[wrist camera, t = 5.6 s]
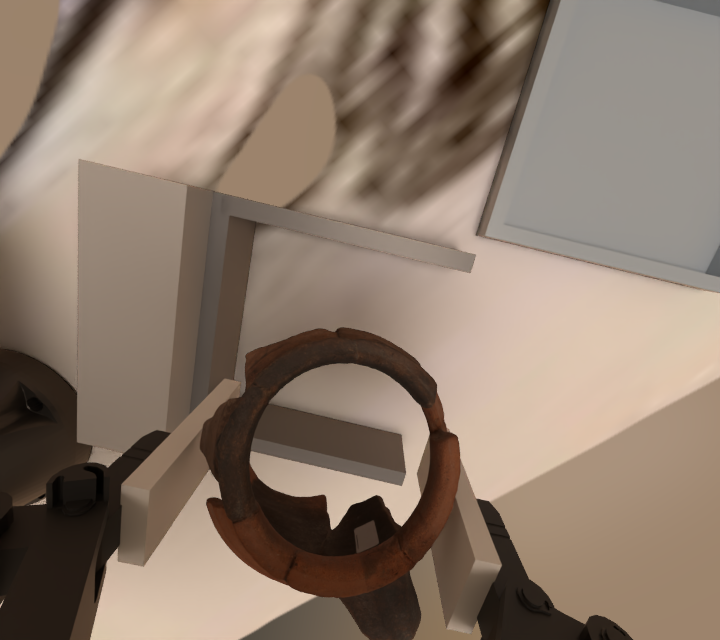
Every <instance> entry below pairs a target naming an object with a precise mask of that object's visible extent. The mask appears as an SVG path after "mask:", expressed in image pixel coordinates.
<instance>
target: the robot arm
mask: <svg viewBox="0 0 720 640" xmlns="http://www.w3.org/2000/svg"><path fill="white" fill-rule="evenodd" d="M240 386H241V382H238V381H234V380H229V379H224V380H223V381H222V382H221V383H220V384H219V385H218V386H217V387H216V388H215V389H214V390H213V391H212V392H211V393H210V394H209V395H208V396H207V397H206V398H205V399H204V400H203V401H202V402H201V403H200V404H199V405H198V406H197V407H196V408H195V409H194V410H193V411H192V413H191V414H190V415H189V416H188V417H187V418H186V419H185V420H184V421H183V422H182V423H181V424H180V425H179V426H178V427H177V428H176V429H175V430H174V431H173V432H172V433H169V432H165V431H160V430H155V431H153V432H151V433H149V434H147V435H145V436H143V437H141V438H140V439H139V440H138V441H137V442H136V443H135V444H133V445H132V446H131V448H130V449H128V450H127V451H126V452H125V453H124V454H122V457H119V458H118V459H117V460H116V461H115V462H114V463H113V464H111V465H110V466H109V467H108V468H107V467H106V466H105V465H102V464H99V463H86V462H87V460H88V458H89V455H90V452H91V445H87V444H83V443H78V442H77V395H76V394H75V393H74V391H73V390H72V389H71V388H70V386H69V385H68V384H67V383H66V382H65V381H64V380H63V379H62V378H61V377H60V376H59V375H57V374H56V373H55V372H54V371H52V370H51V369H50V368H48V367H47V366H45V365H44V364H42V363H40V362H39V361H37V360H35V359H33V358H31V357H29V356H26V355H24V354H21V353H18V352H14V351H11V350H6V349H0V604H1V603H2V601H3V600H4V601H3V603H2V606H1V608H0V640H90V637H91V633H92V629H93V625H94V620H95V616H96V612H97V608H98V603H99V599H100V595H101V591H102V587H103V582H104V578H105V574H106V562H107V560H108V559H109V558H110V556H111V555H112V554H113V553H114V551H115V550H116V549H117V548H118V561H119V562H124V563H129V564H134V565H138V566H143V567H144V565H145V564H146V562H147V561H148V559H149V558H150V556H151V555H152V553H153V552H154V551H155V549H156V548H157V546H158V545H159V543H160V542H161V540H162V539H163V537H164V536H165V534H166V533H167V531H168V530H169V528H170V527H171V525H172V524H173V522H174V521H175V519H176V518H177V516H178V515H179V513H180V512H181V510H182V509H183V507H184V506H185V504H186V503H187V501H188V500H189V498H190V497H191V495H192V494H193V492H194V491H195V489H196V488H197V486H198V485H199V484H200V482H201V481H202V479H203V478H204V476H205V475H206V473H207V472H208V470H209V469H210V468H209V466H208V463H207V461H206V457H205V456H204V454H203V453H202V452H201V450H200V439H201V433H202V428H203V424H204V422H205V421H206V420H207V419H210V418H212V417H213V416H214V413H215V411H216V410H217V408H218V407H219V406H220V405H221V404H223V403H225V402H226V401H227V400H228V399H232V398H239V393H240ZM447 432H450V431H449V429H448V428H447ZM429 438H430V435H429ZM429 438H428V441H427V444H426V447H425V450H424V453H423V456H422V459H421V463H420V466H419V469H418V472H417V476H418V482H419V487H420V492H421V496H422V494H423V491H424V488H425V485H426V482H427V478H428V472H429V465H430V443H429ZM460 469H461V472H460V478H459V483H458V491H457V493H456V496H455V500H454V503H453V509H452V511H451V513H450V515H449V517H448V520H447V522H446V524H445V526H444V528H443V529H442V531H441V533H440V534H439V536H438V538H437V539H436V540H435V542H434V544H433V546H432V547H431V550H432V556H433V560H434V565H435V571H436V576H437V582H438V587H439V592H440V598H441V603H442V608H443V613H444V619H445V624H446V629H450V630H455V631H460V632H464V633H469V634H471V633H472V630H473V628H474V626H475V624H476V622H477V620H478V624H479V627H480V631H481V635H482V637H481V640H633V639H632V638H631V637H630V636H629V635H628V634H627V632H625V631H624V630H623V629H622V628H620V627H619V626H618V625H617V624H616V623H614V622H613V621H611V620H609V619H607V618H605V617H602V616H598V615H594V616H591V617H589V619H588V621H587V622H586V624H583V623H581V622H579V621H577V620H575V619H573V618H571V617H569V616H568V615H565V614H564V613H562V612H560V611H558V610H557V609H555V608H554V605H553V603H552V602H551V600H550V598H549V597H548V595H547V594H546V593H545V592H544V591H543V590H542V589H541V587H539V586H538V585H537V584H535V583H534V582H533V581H531V580H529V578H528V576H527V574H526V572H525V569H524V567H523V565H522V563H521V561H520V558H519V556H518V554H517V552H516V550H515V547H514V545H513V543H512V541H511V540H510V536H509V534H508V532H507V530H506V529H505V525H504V523H503V521H502V518H501V516H500V514H499V513H498V511H497V510H496V509H495V508H494V507H493V505H492V504H491V503H490V502H489V501H485V500H480V499H476V498H475V495H474V492H473V490H472V487H471V485H470V482H469V480H468V477H467V475H466V472H465V469H464V467H463V464H462V462H461V459H460ZM45 498H46V504H43V505H30V504H33V503H36V502H38V501H41V500H43V499H45ZM26 505H27V506H26Z"/></svg>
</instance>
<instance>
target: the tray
mask: <svg viewBox="0 0 720 640" xmlns="http://www.w3.org/2000/svg"><path fill="white" fill-rule="evenodd" d="M476 235H477V236H481V237H485V238H489V239H493V240H498V241H502V242H506V243H510V244H514V245H518V246H522V247H526V248H531V249H535V250H539V251H543V252H547V253H551V254H555V255H559V256H564V257H568V258H572V259H576V260H580V261H584V262H588V263H592V264H597V265H601V266H605V267H609V268H613V269H617V270H621V271H625V272H630V273H634V274H638V275H642V276H646V277H650V278H654V279H658V280H663V281H667V282H671V283H675V284H679V285H683V286H687V287H691V288H696V289H700V290H705V291H710V292H716V293H720V0H550V3H549V6H548V9H547V12H546V15H545V18H544V22H543V25H542V28H541V31H540V34H539V37H538V41H537V44H536V47H535V50H534V53H533V56H532V60H531V63H530V66H529V69H528V72H527V75H526V79H525V82H524V85H523V88H522V91H521V94H520V98H519V101H518V104H517V107H516V110H515V113H514V117H513V120H512V123H511V126H510V129H509V132H508V136H507V139H506V142H505V145H504V148H503V151H502V155H501V158H500V161H499V164H498V167H497V170H496V173H495V177H494V180H493V183H492V186H491V189H490V192H489V196H488V199H487V202H486V205H485V208H484V211H483V215H482V218H481V221H480V224H479V227H478V230H477V234H476Z"/></svg>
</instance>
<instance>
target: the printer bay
mask: <svg viewBox="0 0 720 640" xmlns="http://www.w3.org/2000/svg"><path fill="white" fill-rule="evenodd" d="M256 222H260V223H264V224H268V225H272V226H276V227H280V228H285V229H289V230H293V231H297V232H301V233H305V234H310V235H314V236H318V237H322V238H326V239H330V240H334V241H339V242H343V243H347V244H351V245H355V246H359V247H364V248H368V249H372V250H376V251H380V252H384V253H388V254H393V255H397V256H401V257H405V258H409V259H413V260H418V261H422V262H426V263H430V264H434V265H438V266H442V267H447V268H451V269H455V270H459V271H463V272H467V273H470V272H471V269H472V266H473V263H474V260H475V257H476V255H475V254H471V253H467V252H463V251H459V250H455V249H450V248H446V247H442V246H438V245H434V244H430V243H426V242H422V241H417V240H413V239H409V238H405V237H401V236H397V235H393V234H388V233H384V232H380V231H376V230H372V229H368V228H364V227H359V226H355V225H351V224H347V223H343V222H339V221H335V220H330V219H326V218H322V217H318V216H314V215H310V214H306V213H301V212H297V211H293V210H289V209H285V208H281V207H277V206H272V205H268V204H264V203H260V202H256V201H252V200H248V199H244V198H239V197H235V196H231V195H227V194H223V193H219V192H215V191H210V190H206V189H202V188H198V187H194V186H190V185H186V184H181V183H177V182H173V181H169V180H165V179H161V178H157V177H152V176H148V175H144V174H140V173H136V172H131V171H127V170H123V169H119V168H115V167H111V166H106V165H102V164H98V163H94V162H90V161H85V160H81V159H79V165H78V342H77V442H78V443H83V444H87V445H91V446H96V447H100V448H104V449H109V450H113V451H117V452H122V453H125V452H126V451H127V450H128V449H130V448H131V446H132V445H133V444H135V443H136V442H137V441H138V440H139V439H140V438H141V437H143V436H145V435H147V434H149V433H151V432H153V431H155V430H160V431H165V432H169V433H172V432H173V431H174V430H175V429H176V428H177V427H178V426H179V425H180V424H181V423H182V422H183V421H184V420H185V419H186V418H187V417H188V416H189V415H190V414H191V413H192V411H193V410H194V409H195V408H196V407H197V406H198V405H199V404H200V403H201V402H202V401H203V400H204V399H205V398H206V397H207V396H208V395H209V394H210V393H211V392H212V391H213V390H214V389H215V388H216V387H217V386H218V385H219V384H220V383H221V382H222V381H223V380H224V379H229V380H233V379H234V372H235V365H236V358H237V351H238V344H239V337H240V330H241V323H242V316H243V309H244V302H245V295H246V288H247V281H248V274H249V267H250V260H251V253H252V246H253V239H254V232H255V225H256ZM239 398H240V397H239ZM251 451H253V452H258V453H262V454H266V455H271V456H275V457H279V458H284V459H288V460H292V461H297V462H301V463H305V464H309V465H314V466H318V467H322V468H327V469H331V470H335V471H340V472H344V473H348V474H353V475H357V476H361V477H366V478H370V479H374V480H379V481H383V482H387V483H391V484H396V485H400V486H402V484H403V481H404V478H405V475H406V469H405V461H404V453H403V444H402V436H401V435H399V434H395V433H391V432H386V431H382V430H378V429H374V428H369V427H365V426H361V425H356V424H352V423H348V422H344V421H339V420H335V419H331V418H326V417H322V416H318V415H314V414H309V413H305V412H301V411H297V410H292V409H288V408H284V407H279V406H275V405H271V404H268V406H267V407H266V409H265V410H264V412H263V414H262V416H261V418H260V420H259V422H258V425H257V428H256V430H255V433H254V437H253V441H252V445H251Z"/></svg>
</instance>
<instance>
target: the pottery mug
mask: <svg viewBox="0 0 720 640" xmlns="http://www.w3.org/2000/svg"><path fill="white" fill-rule="evenodd" d="M336 363H346V364H348V363H354V364H358V365H363V366H368V367H370V368H374V369H377V370H379V371H381V372H383V373H385V374H387V375H388V376H390V377H391V378H393V379H394V380H395V381H396V382H398V383H399V384H400V385H401V386H402V387H404V388H405V389H406V390H407V391H408V392H409V394H410V395H411V396H412V397H413V399H414V400H415V401H416V402H417V403H418V404H420V405H421V407H422V410H423V412H424V415H425V417H426V420H427V423H428V427H429V431H430V438H429V443H430V465H429V472H428V478H427V482H426V485H425V488H424V491H423V494H422V496H421V499H420V501H419V503H418V505H417V506H416V508H415V510H414V511H413V513H412V514H411V516H410V517H409V519H408V520H407V521H406V522H405V524H404V525H403V526H402V527H401V526H400V525H398V524H397V523H396V522H394V519H393V518H392V516H391V513H390V510H389V509H388V508H387V507H385V504H384V502H383V499H382V498H381V497H380V496H378V495H376V496H373V497H371V498H369V499H367V500H366V501H363V502H360V503H356V504H353V505H352V506H350V508H349V509H348V511H347V513H346V514H345V516H344V517H343V518H342V520H341V521H340V523H339V525H338V526H337V527H336V528H334V529H333V530H332V529H331V527H330V518H329V514H328V513H327V500H326V496H325V495H318V496H312V497H295V496H290V495H286V494H284V493H281V492H278V491H275V490H273V489H271V488H270V487H268V486H267V485H265V484H264V483H263V482H262V481H261V480H260V479H258V477H257V475H256V474H255V472H254V471H253V469H252V467H251V465H250V463H249V461H250V451H251V445H252V441H253V437H254V433H255V430H256V428H257V425H258V422H259V420H260V418H261V416H262V414H263V412H264V410H265V409H266V407H267V406H268V403H269V401H270V400H271V399H272V398H273V397H274V396H275V395H276V394H277V393H278V391H279V390H280V389H282V388H283V387H284V386H285V385H286V384H287V383H289V382H290V381H292V380H293V379H294V378H296V377H297V376H299V375H301V374H302V373H304V372H307V371H309V370H311V369H313V368H317V367H320V366H324V365H329V364H336ZM245 377H246V389H245V392H244V394H243V396H242V397H240V398H232V399H228V400H227V401H226V402H225V403H223V404H221V405H220V406H219V407H218V408H217V410H216V411H215V413H214V416H213V417H212V418H210V419H207V420H206V421H205V422H204V424H203V428H202V433H201V439H200V450H201V452H202V453H203V454H204V456H205V457H206V461H207V463H208V466H209V468H210V470H211V472H212V474H213V476H214V477H215V479H216V480H217V481H218V482H219V487H220V492H221V498H222V500H221V499H219V498H208V499H207V502H206V505H207V508H208V511H209V514H210V517H211V519H212V521H213V524H214V526H215V528H216V529H217V531H218V533H219V534H220V536H221V538H222V539H223V541H224V542H225V543H226V544H227V546H228V547H229V548H230V549H231V550H232V551H233V552H234V553H235V554H236V555H237V556H238V557H239V558H240V559H241V560H242V561H243V562H244V563H246V564H247V565H248V566H250V567H251V568H253V569H254V570H256V571H257V572H259V573H261V574H263V575H265V576H266V577H268V578H270V579H273V580H275V581H278V582H280V583H283V584H285V585H289V586H290V587H291V588H293V589H295V590H298V591H300V592H304V593H308V594H313V595H316V596H320V597H335V598H340V600H341V601H342V602H343V604H344V605H345V606H346V608H347V609H348V611H349V612H350V614H351V615H352V617H353V619H354V620H355V622H356V623H357V625H358V627H359V629H360V630H361V632H362V633H363V634H364V635H365V636H366V637H368V638H369V639H370V640H412V639H413V638H414V636H415V634H416V631H417V629H418V627H419V624H420V621H421V611H420V607H419V603H418V599H417V595H416V592H415V589H414V586H413V583H412V580H411V577H410V570H411V569H412V568H413V567H414V566H415V565H416V563H417V562H418V561H420V560H421V559H422V558H423V557H424V555H425V554H426V552H427V551H428V550H429V549H430V548H431V547H432V546H433V544H434V542H435V540H436V539H437V538H438V536H439V534H440V533H441V531H442V529H443V528H444V526H445V524H446V522H447V520H448V517H449V515H450V513H451V511H452V509H453V503H454V500H455V496H456V493H457V491H458V483H459V478H460V472H461V469H460V448H459V441H458V437H457V436H456V435H455V434H453V433H450V432H447V428H446V424H445V422H444V412H443V407H442V404H441V401H440V399H439V396H438V394H437V384H436V382H435V381H434V379H433V378H432V377H431V376H430V375H429V374H428V373H427V372H426V371H425V370H424V369H423V368H422V367H421V365H420V364H419V362H418V361H417V360H416V359H415V358H414V357H413V356H411V355H410V354H408V353H407V352H406V351H404V350H403V349H402V348H400V347H398V346H396V345H395V344H393V343H391V342H390V341H387V340H385V339H384V338H381V337H379V336H377V335H374V334H371V333H369V332H365V331H360V330H355V329H351V328H344V327H342V328H338V329H337V330H336V331H335V332H331V331H328V330H326V329H314V330H311V331H306V332H303V333H300V334H298V335H296V336H292V337H290V338H288V339H286V340H283V341H280V342H277V343H274V344H271V345H268V346H266V347H260V348H258V349H256V350H254V351H251V352H249V353H247V354H246V363H245Z"/></svg>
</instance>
